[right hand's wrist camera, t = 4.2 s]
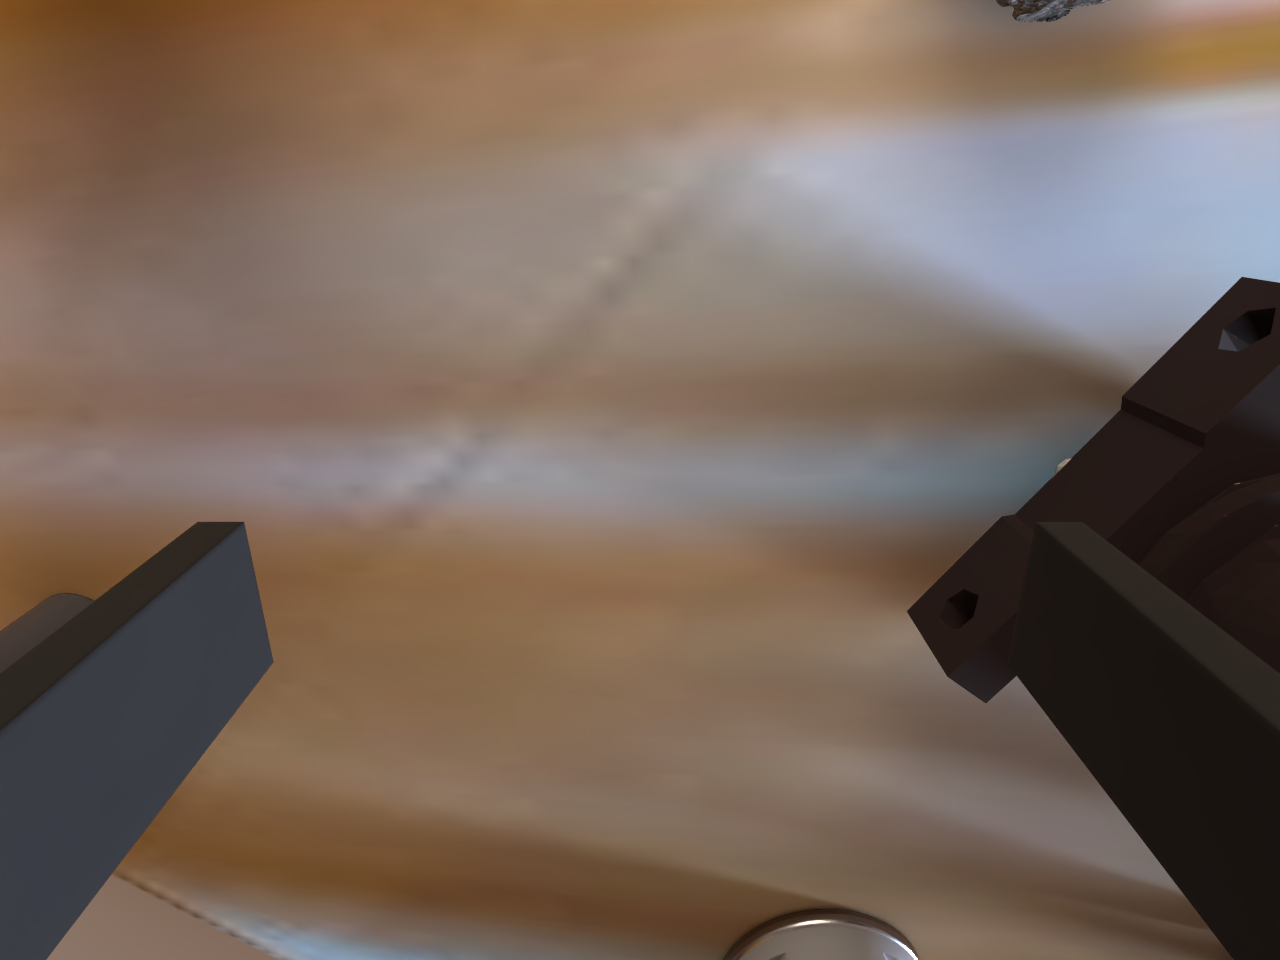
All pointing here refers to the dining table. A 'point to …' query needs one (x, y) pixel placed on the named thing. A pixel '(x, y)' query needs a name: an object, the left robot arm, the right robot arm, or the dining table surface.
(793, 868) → the dining table surface
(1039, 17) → the rock
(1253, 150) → the dining table surface
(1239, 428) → the mechanical component
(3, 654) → the bottle
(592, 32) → the dining table surface
